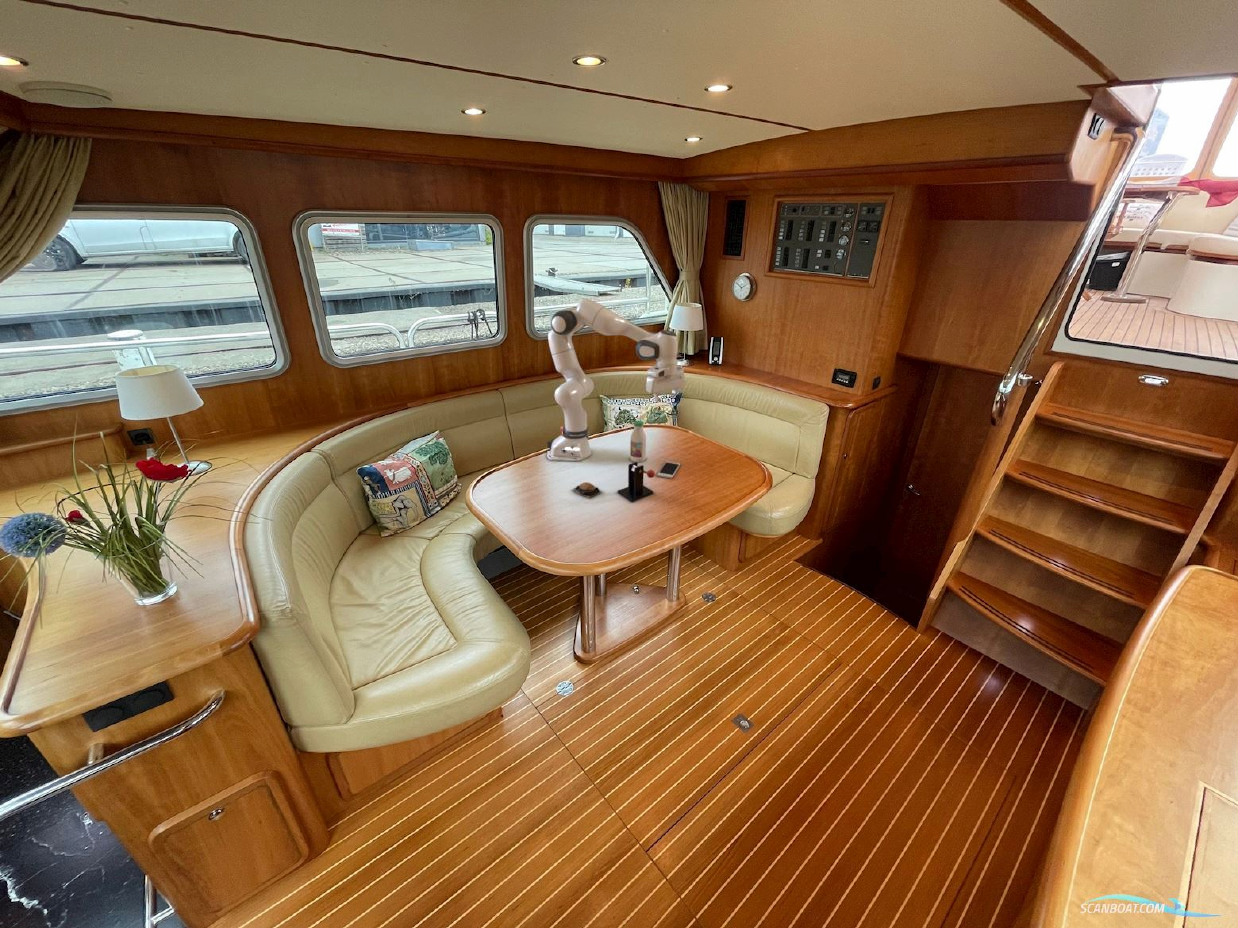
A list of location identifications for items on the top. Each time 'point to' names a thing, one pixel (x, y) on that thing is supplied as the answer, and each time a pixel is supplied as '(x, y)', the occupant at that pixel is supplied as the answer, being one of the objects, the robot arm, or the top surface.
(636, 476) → the bracket
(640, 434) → the milk bottle
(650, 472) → the lever
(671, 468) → the smartphone
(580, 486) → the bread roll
